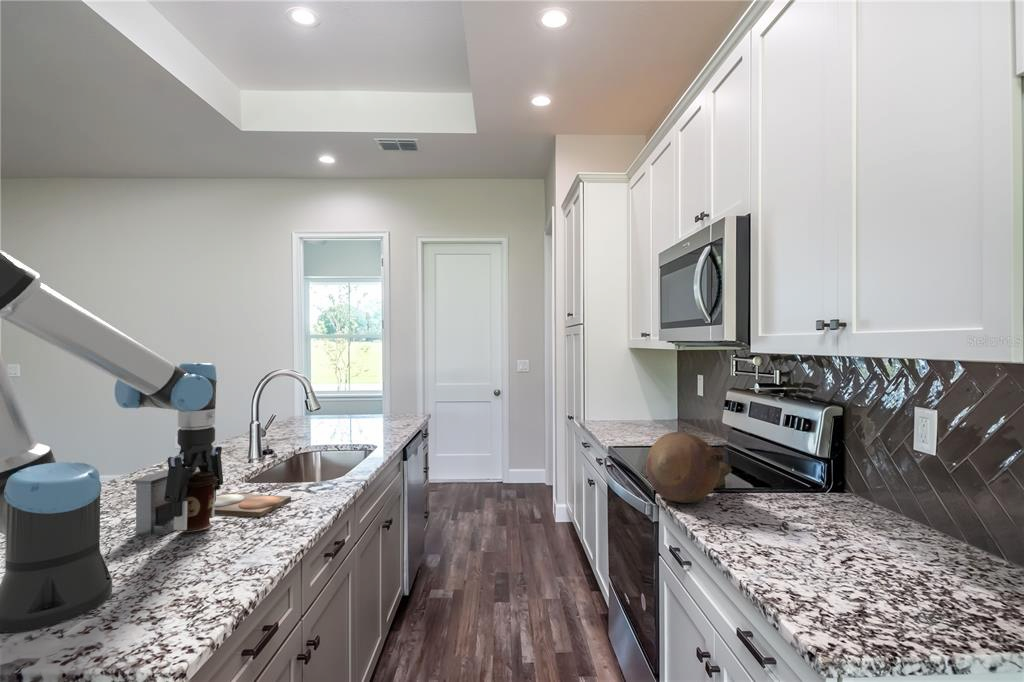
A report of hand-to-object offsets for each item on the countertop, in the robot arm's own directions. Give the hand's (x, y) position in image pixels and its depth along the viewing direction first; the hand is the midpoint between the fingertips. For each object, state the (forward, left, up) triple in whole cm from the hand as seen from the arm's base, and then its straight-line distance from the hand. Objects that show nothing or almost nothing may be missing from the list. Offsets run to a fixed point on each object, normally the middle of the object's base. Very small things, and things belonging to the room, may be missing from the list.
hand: (194, 523), depth 114 cm
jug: (+43, -123, -2) cm, 131 cm away
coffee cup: (0, 0, -1) cm, 1 cm away
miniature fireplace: (0, +9, -2) cm, 10 cm away
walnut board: (+17, +1, -2) cm, 18 cm away
